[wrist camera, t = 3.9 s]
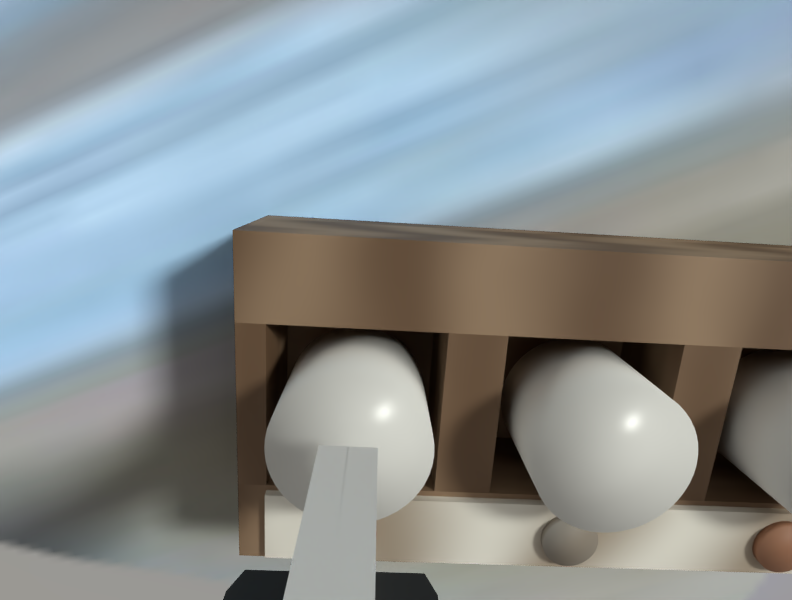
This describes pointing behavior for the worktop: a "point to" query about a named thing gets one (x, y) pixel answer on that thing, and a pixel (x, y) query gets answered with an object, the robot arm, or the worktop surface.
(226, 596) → the robot arm
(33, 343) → the worktop surface
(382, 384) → the left button
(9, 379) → the worktop surface
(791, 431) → the right button
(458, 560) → the button panel
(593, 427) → the middle button
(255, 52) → the worktop surface
